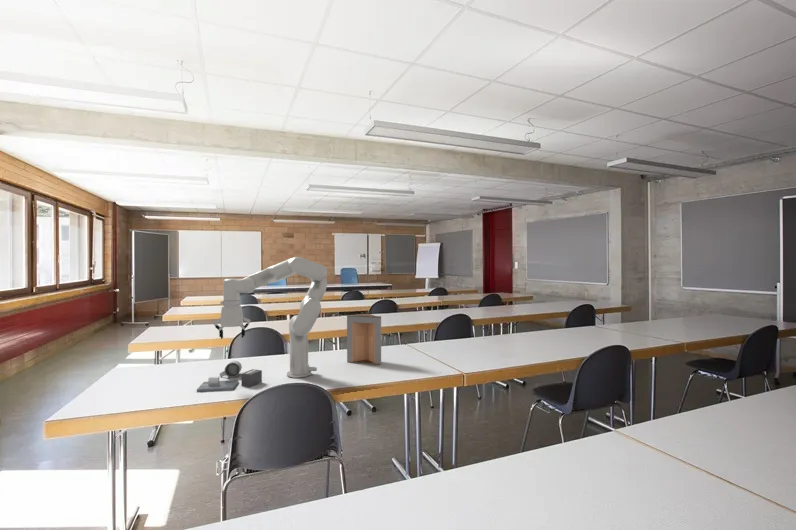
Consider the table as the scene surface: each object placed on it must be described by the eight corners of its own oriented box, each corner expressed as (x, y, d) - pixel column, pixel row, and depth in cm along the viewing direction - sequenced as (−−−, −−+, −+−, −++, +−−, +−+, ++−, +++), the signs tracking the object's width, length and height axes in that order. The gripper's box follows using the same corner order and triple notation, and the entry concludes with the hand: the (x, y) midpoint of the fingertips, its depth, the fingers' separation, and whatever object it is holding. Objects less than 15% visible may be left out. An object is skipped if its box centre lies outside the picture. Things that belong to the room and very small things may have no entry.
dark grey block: (252, 381, 206) (252, 368, 206) (261, 382, 204) (261, 369, 204) (241, 385, 199) (241, 373, 199) (251, 386, 197) (250, 374, 197)
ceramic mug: (242, 372, 221) (241, 358, 221) (240, 377, 213) (239, 362, 213) (221, 374, 219) (220, 360, 219) (218, 378, 211) (217, 363, 211)
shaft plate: (238, 382, 204) (238, 372, 204) (233, 389, 192) (233, 379, 192) (204, 384, 201) (204, 374, 201) (196, 391, 189) (196, 381, 189)
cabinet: (347, 362, 243) (346, 315, 243) (353, 358, 252) (353, 313, 252) (380, 365, 237) (380, 316, 237) (385, 361, 246) (385, 314, 246)
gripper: (211, 305, 198) (212, 340, 198) (249, 303, 203) (250, 338, 203) (214, 303, 205) (214, 337, 206) (250, 302, 210) (251, 335, 210)
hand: (232, 337), depth 204 cm, fingers open, 9 cm apart
